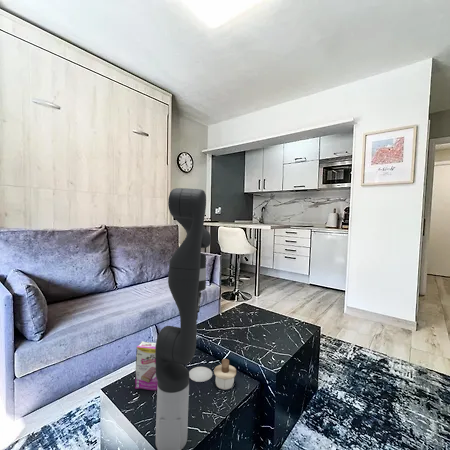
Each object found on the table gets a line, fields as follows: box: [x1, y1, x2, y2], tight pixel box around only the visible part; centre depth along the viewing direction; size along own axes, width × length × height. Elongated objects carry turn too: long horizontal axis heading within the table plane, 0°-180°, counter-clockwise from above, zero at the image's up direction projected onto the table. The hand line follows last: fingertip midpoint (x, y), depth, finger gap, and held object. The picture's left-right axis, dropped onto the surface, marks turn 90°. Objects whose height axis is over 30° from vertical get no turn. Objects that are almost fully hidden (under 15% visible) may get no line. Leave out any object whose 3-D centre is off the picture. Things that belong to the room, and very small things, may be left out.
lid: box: [213, 358, 237, 380], centre depth 100 cm, size 9×9×5 cm
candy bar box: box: [134, 341, 158, 392], centre depth 96 cm, size 11×5×16 cm, turn 84°
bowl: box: [214, 376, 235, 390], centre depth 100 cm, size 7×7×5 cm
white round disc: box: [189, 366, 213, 383], centre depth 105 cm, size 10×10×1 cm
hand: (195, 315), depth 105 cm, fingers open, 8 cm apart
